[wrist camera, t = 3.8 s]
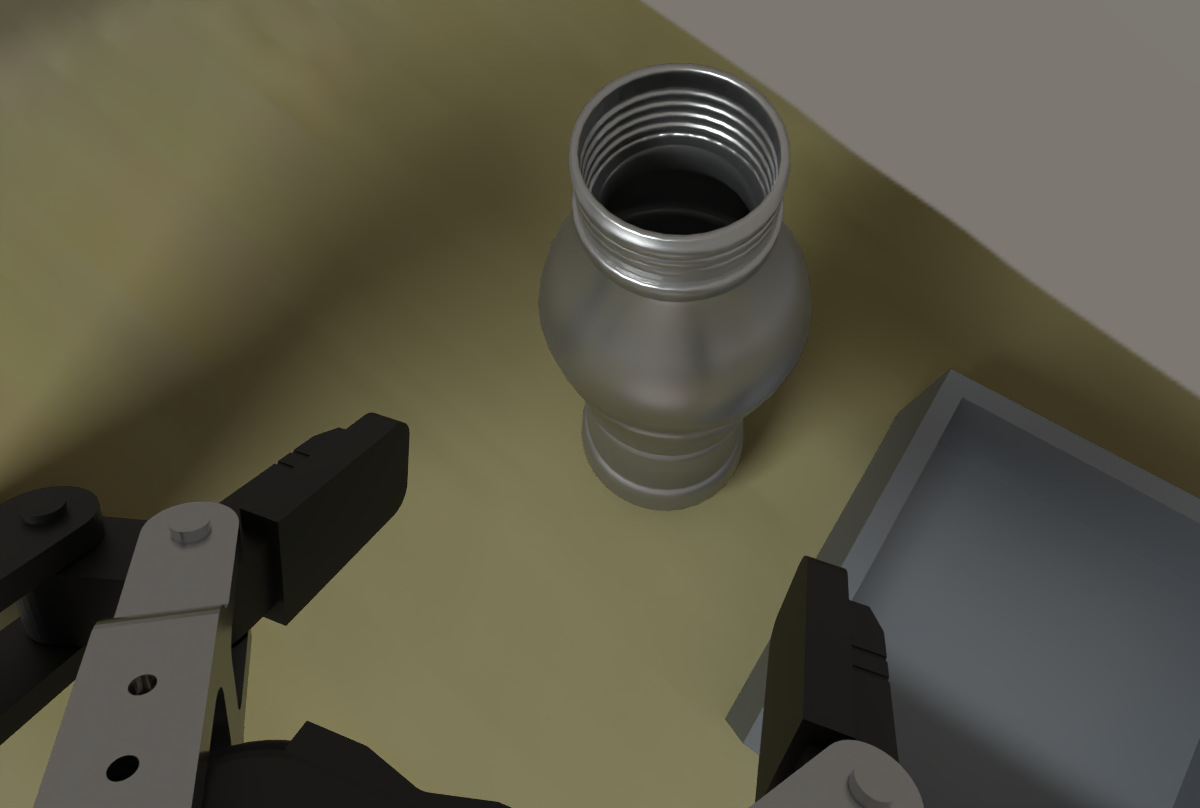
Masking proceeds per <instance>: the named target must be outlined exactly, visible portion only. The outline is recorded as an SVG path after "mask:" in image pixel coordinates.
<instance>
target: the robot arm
mask: <svg viewBox="0 0 1200 808" xmlns="http://www.w3.org/2000/svg"><path fill="white" fill-rule="evenodd" d="M408 455H409V428H408V426H407V424H406V423H403V422H400V421H397V420H394V419H391V418H388V417H385V416H382V415H379V414H376V413H367V414H366V415H364V416H363V417H362V418H360V419H359V420H358V421H356V422H355V423H354V424H352V425H351V426H349V427H348V428H347V429H342V428H336V429H333V430H330V431H327V432H324V433H321V434H319V435H316V436H313V437H312V438H310V439H309V440H307V441H306V442H305V443H303V444H302V445H300V446H299V447H298V448H296V449H295V450H294V452H293V453H289V454H288V455H286V456H285V457H283V458H282V459H281V460H279V461H278V464H277V465H276V464H273V465H272V466H271V467H269V468H268V469H266V470H265V471H264V472H262V473H261V474H259V475H258V476H257V477H255V478H254V479H252V480H251V481H249V482H248V483H247V484H245V485H244V486H242V487H241V488H240V489H238V490H237V491H235V492H234V493H233V494H231V495H230V496H228V497H227V498H225V499H224V500H223V501H221V502H220V503H214V502H205V501H203V502H189V503H184V504H179V505H176V506H173V507H170V508H168V509H165V510H163V511H161V512H159V513H158V514H156V515H155V516H153V517H152V518H151V519H149V520H148V521H146V520H135V519H125V518H114V517H104V516H102V514H101V509H100V505H99V501H98V499H97V497H96V496H95V495H94V494H93V493H92V492H90V491H88V490H86V489H82V488H78V487H71V486H58V487H48V488H42V489H38V490H33V491H30V492H27V493H24V494H21V495H19V496H16V497H14V498H12V499H10V500H8V501H6V502H5V503H3V504H1V505H0V745H1V744H2V743H3V742H5V741H6V740H7V739H8V738H9V737H10V736H11V735H13V734H14V733H15V732H16V731H17V730H18V729H19V728H21V727H22V726H23V725H24V724H25V723H26V722H27V721H29V720H30V719H31V718H32V717H33V716H34V715H35V714H37V713H38V712H39V711H40V710H41V709H42V708H43V707H45V706H46V705H47V704H48V703H49V702H50V701H51V700H53V699H54V698H55V697H56V696H57V695H58V694H59V693H61V692H62V691H63V690H64V689H65V688H66V687H67V686H69V685H70V684H71V683H72V682H73V681H74V680H75V679H76V680H75V683H74V686H73V689H72V692H71V695H70V698H69V701H68V704H67V707H66V710H65V713H64V716H63V719H62V722H61V725H60V728H59V731H58V734H57V737H56V740H55V743H54V746H53V749H52V752H51V755H50V758H49V761H48V764H47V767H46V770H45V773H44V776H43V779H42V782H41V785H40V788H39V791H38V794H37V797H36V800H35V803H34V806H33V808H511V807H509V806H506V805H504V804H502V803H499V802H494V801H487V800H480V799H472V798H465V797H457V796H450V795H443V794H435V793H428V792H424V791H422V790H419V789H418V788H417V787H415V786H414V785H413V784H412V783H410V782H409V781H408V780H407V779H406V778H404V777H403V776H402V775H401V774H400V773H398V772H397V771H396V770H395V769H394V768H392V767H391V766H390V765H389V764H388V763H386V762H385V761H384V760H383V759H382V758H380V757H379V756H378V755H377V754H376V753H375V752H373V751H372V750H371V749H370V748H369V747H367V746H365V745H363V744H361V743H358V742H356V741H354V740H351V739H349V738H347V737H344V736H342V735H340V734H337V733H335V732H333V731H330V730H328V729H325V728H323V727H321V726H318V725H316V724H314V723H311V722H309V721H306V723H305V724H304V725H303V726H302V728H301V729H300V730H299V731H298V733H297V734H296V735H295V736H294V738H293V739H292V740H291V741H289V740H262V741H252V742H246V743H244V721H245V709H246V698H247V687H248V675H249V664H250V653H251V641H252V634H251V628H252V627H253V626H254V625H255V624H256V623H257V622H258V621H259V620H260V619H261V618H262V617H265V618H268V619H270V620H273V621H275V622H278V623H280V624H283V625H285V626H286V625H287V624H288V623H289V622H290V621H291V620H292V619H293V618H294V617H295V616H296V615H297V614H298V613H299V612H300V611H301V610H302V609H303V608H304V607H305V606H306V605H307V604H308V603H309V602H310V601H311V600H312V599H313V598H314V597H315V596H316V595H317V594H318V593H319V591H320V590H321V589H322V588H323V587H324V586H325V585H326V584H327V583H328V582H329V581H330V580H331V579H332V578H333V577H334V576H335V575H336V574H337V573H338V572H339V571H340V570H341V569H342V568H343V567H344V566H345V565H346V564H347V563H348V562H349V561H350V560H351V559H352V558H353V557H354V556H355V555H356V554H357V553H358V551H359V550H360V549H361V548H362V547H363V546H364V545H365V544H366V543H367V542H368V541H369V540H370V539H371V538H372V537H373V536H374V535H375V534H376V533H377V532H378V531H379V530H380V529H381V528H382V527H383V526H384V525H385V524H386V523H387V522H388V521H389V520H390V519H391V518H392V517H393V516H394V514H395V513H396V512H397V511H398V509H399V507H400V506H401V504H402V502H403V499H404V496H405V493H406V489H407V478H408ZM886 658H887V653H886V644H885V636H884V631H883V629H882V628H881V626H880V624H879V622H878V621H877V619H876V617H875V615H874V613H873V612H872V610H871V608H870V607H869V606H866V605H863V604H860V603H857V602H854V601H851V600H849V588H848V572H847V570H846V569H845V568H842V567H839V566H836V565H833V564H830V563H827V562H824V561H821V560H818V559H815V558H812V557H809V556H804V557H803V558H802V560H801V562H800V564H799V566H798V569H797V571H796V573H795V576H794V578H793V580H792V583H791V585H790V587H789V590H788V592H787V594H786V597H785V599H784V601H783V604H782V606H781V608H780V611H779V613H778V616H777V618H776V621H775V624H774V628H773V632H772V636H771V641H770V646H769V656H768V667H767V678H766V689H765V700H764V711H763V722H762V733H761V744H760V755H759V765H758V776H757V787H756V798H755V803H754V804H753V805H752V806H750V807H749V808H924V806H923V802H922V798H921V796H920V793H919V791H918V789H917V787H916V785H915V783H914V782H913V780H912V779H911V777H910V776H909V775H908V773H907V772H906V771H905V770H904V769H903V767H902V766H901V765H900V764H899V759H898V751H897V742H896V733H895V724H894V715H893V706H892V698H891V689H890V683H889V682H888V679H889V671H888V662H887V661H886Z"/></svg>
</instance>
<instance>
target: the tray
mask: <svg viewBox="0 0 1200 808" xmlns="http://www.w3.org/2000/svg"><path fill="white" fill-rule="evenodd" d="M816 559H818V560H821V561H824V562H827V563H830V564H833V565H836V566H839V567H842V568H845V569H846V570H847V572H848V588H849V600H851V601H854V602H857V603H860V604H863V605H866V606H869V607H870V608H871V610H872V612H873V613H874V615H875V617H876V619H877V621H878V622H879V624H880V626H881V628H882V629H883V631H884V636H885V644H886V653H887V658H886V661H887V662H888V671H889V679H888V682H889V683H890V689H891V698H892V706H893V715H894V724H895V733H896V742H897V751H898V759H899V764H900V765H901V766H902V767H903V769H904V770H905V771H906V772H907V773H908V775H909V776H910V777H911V779H912V780H913V782H914V783H915V785H916V787H917V789H918V791H919V793H920V796H921V798H922V802H923V806H924V808H1200V499H1199V498H1197V497H1195V496H1193V495H1192V494H1190V493H1188V492H1186V491H1184V490H1182V489H1180V488H1178V487H1176V486H1174V485H1172V484H1170V483H1169V482H1167V481H1165V480H1163V479H1161V478H1159V477H1157V476H1155V475H1153V474H1151V473H1149V472H1148V471H1146V470H1144V469H1142V468H1140V467H1138V466H1136V465H1134V464H1132V463H1130V462H1128V461H1127V460H1125V459H1123V458H1121V457H1119V456H1117V455H1115V454H1113V453H1111V452H1109V451H1107V450H1106V449H1104V448H1102V447H1100V446H1098V445H1096V444H1094V443H1092V442H1090V441H1088V440H1086V439H1084V438H1083V437H1081V436H1079V435H1077V434H1075V433H1073V432H1071V431H1069V430H1067V429H1065V428H1063V427H1062V426H1060V425H1058V424H1056V423H1054V422H1052V421H1050V420H1048V419H1046V418H1044V417H1042V416H1041V415H1039V414H1037V413H1035V412H1033V411H1031V410H1029V409H1027V408H1025V407H1023V406H1021V405H1020V404H1018V403H1016V402H1014V401H1012V400H1010V399H1008V398H1006V397H1004V396H1002V395H1000V394H998V393H997V392H995V391H993V390H991V389H989V388H987V387H985V386H983V385H981V384H979V383H977V382H976V381H974V380H972V379H970V378H968V377H966V376H964V375H962V374H960V373H958V372H956V371H955V370H953V369H950V370H949V371H948V372H947V373H945V374H944V375H943V376H942V377H941V378H940V379H938V380H937V381H936V382H935V383H934V384H932V385H931V386H930V387H929V388H928V389H926V390H925V391H924V392H923V393H922V394H921V395H919V396H918V397H917V398H916V399H915V400H913V401H912V402H911V403H910V404H909V405H908V406H906V407H905V408H904V409H903V410H902V411H900V412H899V413H898V415H897V417H896V418H895V420H894V422H893V424H892V425H891V427H890V429H889V431H888V432H887V434H886V436H885V438H884V440H883V441H882V443H881V445H880V447H879V448H878V450H877V452H876V454H875V455H874V457H873V459H872V461H871V462H870V464H869V466H868V468H867V470H866V471H865V473H864V475H863V477H862V478H861V480H860V482H859V484H858V485H857V487H856V489H855V491H854V492H853V494H852V496H851V498H850V500H849V501H848V503H847V505H846V507H845V508H844V510H843V512H842V514H841V515H840V517H839V519H838V521H837V522H836V524H835V526H834V528H833V530H832V531H831V533H830V535H829V537H828V538H827V540H826V542H825V544H824V545H823V547H822V549H821V551H820V552H819V554H818V556H817V558H816ZM770 641H771V639H770ZM770 641H769V642H768V644H767V646H766V648H765V649H764V651H763V653H762V655H761V657H760V658H759V660H758V662H757V664H756V665H755V667H754V669H753V671H752V672H751V674H750V676H749V678H748V679H747V681H746V683H745V685H744V687H743V688H742V690H741V692H740V694H739V695H738V697H737V699H736V701H735V702H734V704H733V706H732V708H731V709H730V711H729V713H728V715H727V717H726V718H725V720H726V721H727V722H728V724H729V725H730V726H731V728H732V729H733V730H734V732H735V733H736V735H737V736H738V737H739V739H740V740H741V741H742V743H743V744H745V745H746V746H747V747H749V748H750V749H752V750H753V751H754V752H756V753H757V754H759V755H760V744H761V733H762V722H763V711H764V700H765V689H766V678H767V667H768V656H769V646H770Z"/></svg>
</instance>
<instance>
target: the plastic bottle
mask: <svg viewBox="0 0 1200 808" xmlns="http://www.w3.org/2000/svg"><path fill="white" fill-rule="evenodd" d="M569 168H570V175H571V181H572V185H573V192H572V209H573V212H572V213H571V214H570V215H569V217H568V218H567V219H566V220H565V221H564V222H563V224H562V225H561V227H560V229H559V230H558V232H557V234H556V236H555V237H554V239H553V241H552V243H551V246H550V249H549V252H548V255H547V258H546V261H545V265H544V268H543V272H542V275H541V279H540V288H539V298H538V306H539V315H540V323H541V328H542V331H543V333H544V336H545V339H546V342H547V345H548V348H549V350H550V351H551V353H552V355H553V357H554V359H555V361H556V362H557V364H558V366H559V367H560V369H561V371H562V372H563V374H564V376H565V377H566V379H567V380H568V382H569V383H570V384H571V385H572V386H573V387H574V388H575V390H576V391H577V392H578V393H579V394H580V395H581V397H582V398H583V399H584V400H585V402H586V403H585V406H584V410H583V418H582V432H581V434H582V442H583V448H584V451H585V454H586V457H587V460H588V463H589V464H590V466H591V468H592V469H593V471H594V473H595V474H596V476H597V477H598V478H599V479H600V481H601V482H602V483H603V484H604V485H605V486H606V487H607V488H608V489H609V490H611V491H612V492H613V493H614V494H616V495H617V496H618V497H620V498H622V499H624V500H626V501H628V502H630V503H632V504H634V505H637V506H640V507H644V508H647V509H651V510H663V511H670V510H679V509H685V508H688V507H691V506H695V505H698V504H700V503H702V502H704V501H705V500H707V499H709V498H711V497H713V496H714V495H715V494H716V493H717V492H718V491H719V490H721V489H722V488H723V487H724V486H725V485H726V483H727V482H728V481H729V479H730V478H731V477H732V475H733V474H734V472H735V470H736V468H737V465H738V463H739V461H740V457H741V453H742V448H743V418H745V417H746V416H747V415H749V414H750V413H751V412H753V411H754V410H755V409H757V408H758V407H759V406H760V405H761V404H762V403H764V402H765V401H766V400H767V399H768V398H769V397H771V396H772V395H773V394H774V392H775V391H776V390H777V389H778V388H779V387H780V386H781V385H782V383H783V382H784V380H785V379H786V378H787V376H788V375H789V374H790V372H791V371H792V370H793V368H794V367H795V366H796V364H797V362H798V360H799V358H800V356H801V353H802V351H803V349H804V347H805V344H806V342H807V338H808V333H809V328H810V323H811V318H812V315H811V292H810V284H809V276H808V272H807V268H806V264H805V261H804V257H803V253H802V251H801V249H800V247H799V245H798V243H797V241H796V239H795V237H794V236H793V234H792V232H791V230H790V229H789V228H788V227H787V226H786V224H785V223H784V222H783V221H782V219H783V214H784V193H785V189H786V186H787V181H788V177H789V172H790V143H789V139H788V135H787V132H786V128H785V125H784V123H783V121H782V119H781V118H780V116H779V114H778V112H777V110H776V109H775V108H774V106H773V105H772V104H771V103H770V102H769V101H768V99H767V98H766V97H765V96H764V95H763V94H762V93H761V92H759V91H758V90H757V89H755V88H754V87H753V86H752V85H750V84H749V83H748V82H746V81H744V80H742V79H740V78H738V77H736V76H735V75H733V74H731V73H728V72H725V71H722V70H719V69H716V68H713V67H709V66H703V65H697V64H691V63H667V64H660V65H653V66H648V67H645V68H641V69H638V70H635V71H631V72H629V73H627V74H625V75H623V76H621V77H619V78H617V79H615V80H613V81H612V82H610V83H609V84H607V85H606V86H605V87H603V88H602V89H601V90H599V91H598V92H597V93H596V94H595V95H594V96H593V97H592V98H591V99H590V100H589V102H588V103H587V104H586V105H585V106H584V108H583V110H582V111H581V113H580V115H579V116H578V118H577V120H576V122H575V125H574V128H573V131H572V134H571V139H570V150H569Z"/></svg>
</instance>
